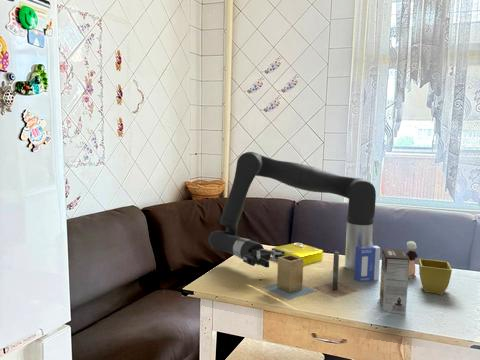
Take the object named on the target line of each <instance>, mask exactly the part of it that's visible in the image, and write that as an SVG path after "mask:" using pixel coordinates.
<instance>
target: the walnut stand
mask: <svg viewBox="0 0 480 360" xmlns="http://www.w3.org/2000/svg"><path fill="white" fill-rule="evenodd" d="M339 263H340V252H339V251H334V252H333V265H332V266H333V269H332V270H333V271H332V281H330V282H325V283H323V284H319V285H316V286H313V287H312V288H311V289H314V290H316V291H319V292H322V293H324V294H327V295H329V296H332V297H334V298H340V297H343V296H345V295H350V294H352V293H355V292H358V290H357V289H355V288H353V287H349V286H347V285H344V284H341V283H339Z"/></svg>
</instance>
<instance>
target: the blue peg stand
mask: <svg viewBox="0 0 480 360" xmlns="http://www.w3.org/2000/svg"><path fill="white" fill-rule="evenodd" d="M263 288H264V289H266V290H268V291H270V292H272V293H274V294H276V295H278V296H280V297H283V298H285V300H293V299H296V298H300V297H302V296H306V295H308V294H313V293H316V292H317V289H314V288H311V287H308V286H306V285H304V284H302V290H300V291H297V292H293V293H290V294H289V293H287V292H284V291H282V290H280V289H278V288H277V283H273V284H271V285H270V284H269V285H267V286H263Z"/></svg>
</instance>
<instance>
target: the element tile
mask: <svg viewBox="0 0 480 360" xmlns="http://www.w3.org/2000/svg"><path fill="white" fill-rule="evenodd" d="M273 248H275V249H278V250H281V251H284V252H285V255H286V256H287V255H293V256H296V257H299V258H302V259H303V267H304V266H307V265H311V264H314V263H319V262H322V261H323V258H324V257H323V256H324V254H323V253H324V250H323V249H320V248H317V247H314V246H311V245H307V244H303V243H301V242H294V243H289V244H284V245H279V246H278V245H277V246H275V247H273ZM276 258H277V257H276Z"/></svg>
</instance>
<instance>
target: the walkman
mask: <svg viewBox="0 0 480 360" xmlns="http://www.w3.org/2000/svg"><path fill="white" fill-rule="evenodd" d="M380 256H381V247H380V246H378V245H373V246H359V247H356V256H355V271H354V280H355V281H357V282H371V281H372V282H373V281H379V279H380V260H381V258H380Z"/></svg>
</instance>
